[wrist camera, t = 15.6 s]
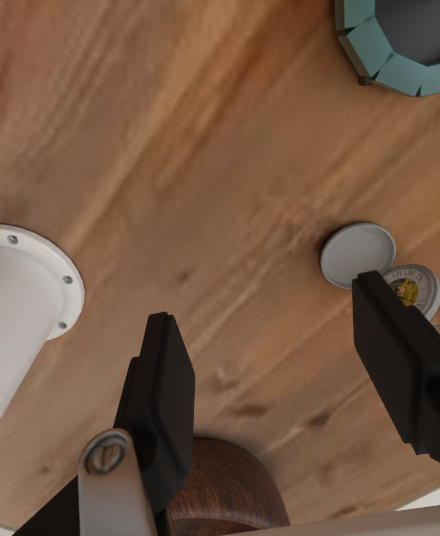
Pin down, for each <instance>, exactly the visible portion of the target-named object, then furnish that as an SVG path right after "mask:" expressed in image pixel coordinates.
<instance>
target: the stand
mask: <svg viewBox="0 0 440 536" xmlns="http://www.w3.org/2000/svg"><path fill="white" fill-rule="evenodd" d="M375 18H376V20H377V22H378V24H379V25H380V27H381V29H382V31H383V33H384V35H385V37H386V39H387V40H388V42H389V44H390V46H391V48H392V50H393V52H395V53H397V54H399V55H402V56H404V57H406V58H409V59H411V60H413V61H416V62H418V63H420V64H423V63H427V62H432V61H436V60H440V0H375ZM358 75H359V73H358ZM365 78H366V77H364V76H360V75H359V85H363V86H367V85H371V84H373V83H371V82H368V81H366V80H365Z"/></svg>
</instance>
